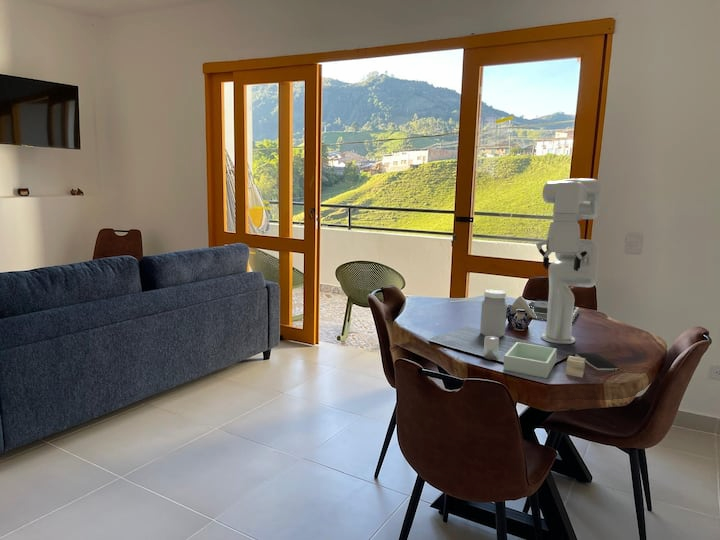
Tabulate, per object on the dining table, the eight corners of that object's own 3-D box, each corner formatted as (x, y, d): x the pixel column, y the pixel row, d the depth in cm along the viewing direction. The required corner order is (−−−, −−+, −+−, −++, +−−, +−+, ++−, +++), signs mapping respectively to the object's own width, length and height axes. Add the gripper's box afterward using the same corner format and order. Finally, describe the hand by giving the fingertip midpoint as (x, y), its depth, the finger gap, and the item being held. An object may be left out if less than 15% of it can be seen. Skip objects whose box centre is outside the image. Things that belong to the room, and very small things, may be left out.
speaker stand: (529, 307, 262) (529, 301, 262) (578, 313, 251) (578, 307, 251) (518, 316, 242) (519, 310, 242) (571, 324, 231) (572, 317, 231)
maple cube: (567, 370, 174) (569, 355, 173) (584, 372, 171) (585, 358, 170) (565, 374, 169) (566, 359, 168) (582, 377, 167) (583, 362, 166)
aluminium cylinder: (485, 353, 188) (486, 335, 187) (499, 356, 185) (500, 337, 184) (481, 357, 183) (482, 338, 182) (495, 360, 181) (497, 341, 180)
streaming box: (565, 313, 251) (566, 303, 250) (566, 320, 238) (567, 309, 237) (534, 310, 256) (534, 300, 255) (533, 317, 243) (534, 306, 242)
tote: (515, 355, 187) (516, 341, 186) (555, 362, 180) (556, 348, 180) (503, 370, 172) (504, 355, 171) (546, 378, 165) (547, 363, 164)
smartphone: (597, 368, 174) (574, 353, 188) (597, 371, 174) (574, 356, 189) (620, 368, 175) (595, 353, 189) (619, 371, 175) (595, 356, 189)
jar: (505, 339, 206) (508, 294, 203) (480, 337, 208) (483, 293, 205) (503, 332, 216) (507, 289, 213) (479, 330, 218) (482, 288, 215)
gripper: (589, 219, 177) (584, 269, 179) (536, 217, 179) (532, 266, 182) (596, 220, 170) (590, 272, 172) (540, 218, 172) (536, 269, 174)
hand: (560, 269), depth 177 cm, fingers open, 9 cm apart
